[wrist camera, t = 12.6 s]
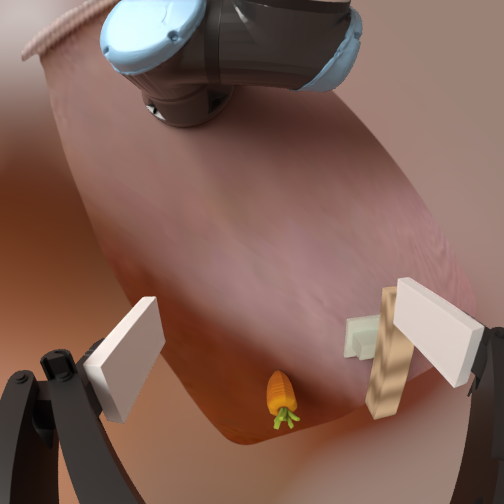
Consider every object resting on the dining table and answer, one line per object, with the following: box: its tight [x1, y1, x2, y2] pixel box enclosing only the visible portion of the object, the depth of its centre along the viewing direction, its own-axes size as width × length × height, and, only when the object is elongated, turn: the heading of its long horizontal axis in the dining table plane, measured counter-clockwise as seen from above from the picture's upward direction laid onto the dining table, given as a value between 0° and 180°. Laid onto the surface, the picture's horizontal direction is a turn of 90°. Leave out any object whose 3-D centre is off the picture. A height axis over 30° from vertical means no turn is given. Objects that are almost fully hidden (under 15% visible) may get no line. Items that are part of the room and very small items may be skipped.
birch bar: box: [365, 286, 414, 420], centre depth 41 cm, size 24×4×6 cm, turn 3°
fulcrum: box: [344, 314, 380, 360], centre depth 47 cm, size 8×12×6 cm, turn 94°
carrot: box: [267, 370, 300, 429], centre depth 44 cm, size 5×5×15 cm
